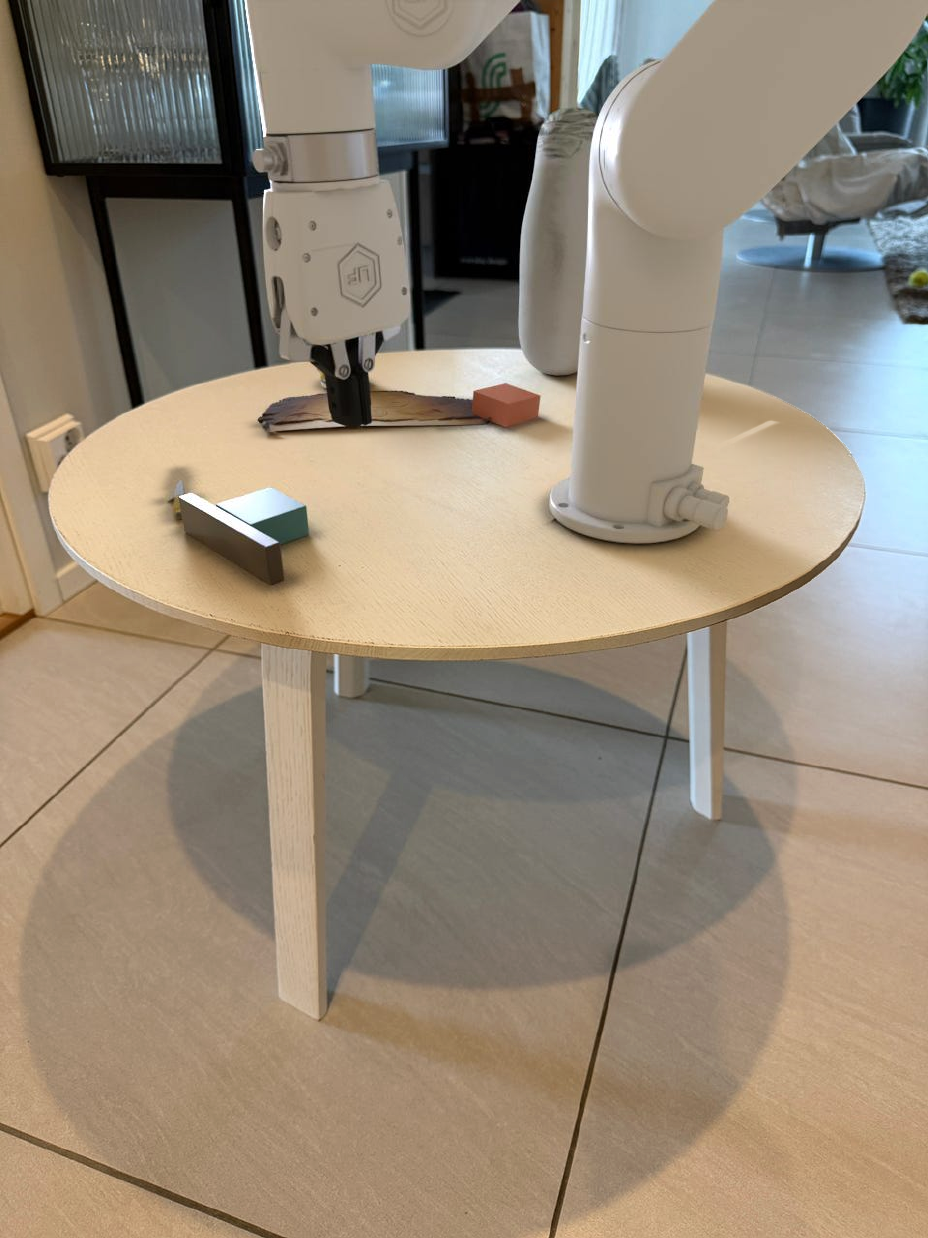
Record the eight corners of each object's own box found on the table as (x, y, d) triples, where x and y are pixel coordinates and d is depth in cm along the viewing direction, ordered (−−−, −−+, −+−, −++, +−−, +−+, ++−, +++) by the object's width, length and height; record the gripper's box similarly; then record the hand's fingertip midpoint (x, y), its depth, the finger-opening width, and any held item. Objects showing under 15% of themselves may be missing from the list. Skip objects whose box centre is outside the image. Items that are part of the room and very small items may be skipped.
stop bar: (284, 579, 62) (280, 542, 61) (270, 585, 61) (265, 547, 60) (197, 527, 69) (191, 492, 68) (183, 531, 69) (177, 496, 67)
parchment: (256, 433, 87) (256, 424, 87) (262, 400, 95) (261, 392, 95) (501, 427, 90) (501, 418, 90) (486, 396, 98) (486, 388, 98)
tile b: (538, 418, 92) (540, 395, 91) (505, 427, 89) (508, 403, 88) (503, 405, 95) (505, 382, 94) (471, 413, 92) (473, 390, 91)
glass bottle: (515, 361, 111) (524, 105, 96) (596, 362, 111) (617, 106, 96) (516, 383, 103) (526, 108, 88) (603, 385, 102) (628, 108, 88)
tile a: (309, 534, 68) (306, 505, 67) (254, 554, 65) (250, 524, 64) (274, 514, 71) (270, 486, 70) (219, 533, 68) (215, 503, 67)
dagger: (165, 473, 79) (187, 466, 79) (170, 482, 79) (191, 475, 80) (164, 515, 70) (188, 506, 70) (169, 525, 70) (193, 516, 71)
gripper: (261, 174, 53) (302, 461, 62) (440, 154, 62) (452, 408, 71) (198, 170, 57) (245, 438, 67) (372, 152, 66) (392, 391, 76)
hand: (351, 422), depth 69 cm, fingers closed
